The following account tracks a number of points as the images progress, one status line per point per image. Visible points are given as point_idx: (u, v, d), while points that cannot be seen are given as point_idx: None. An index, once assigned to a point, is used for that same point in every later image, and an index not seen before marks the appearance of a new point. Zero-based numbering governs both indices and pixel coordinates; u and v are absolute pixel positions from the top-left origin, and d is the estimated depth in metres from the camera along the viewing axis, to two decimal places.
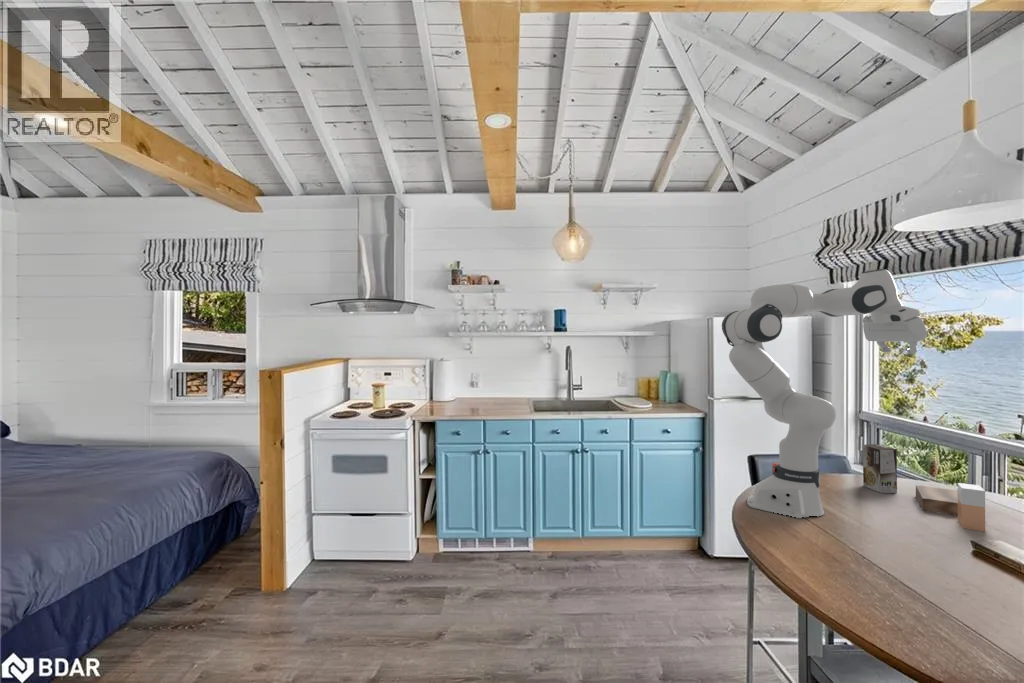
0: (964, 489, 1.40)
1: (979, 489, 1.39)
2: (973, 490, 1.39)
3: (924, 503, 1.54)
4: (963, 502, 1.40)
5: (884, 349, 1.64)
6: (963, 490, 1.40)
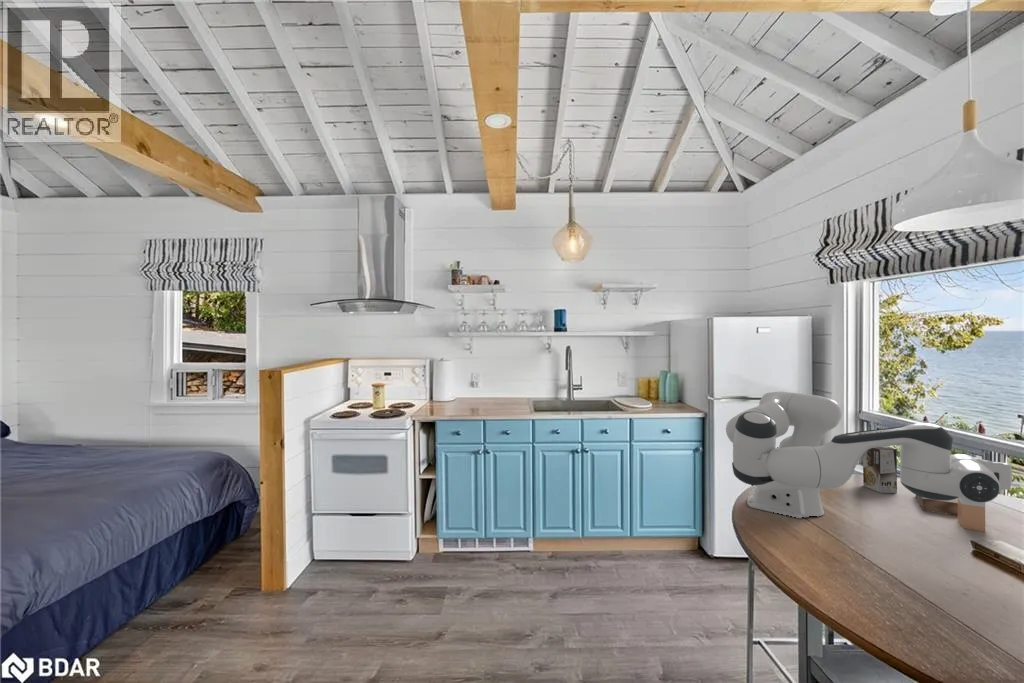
0: None
1: None
2: None
3: (924, 503, 1.54)
4: (963, 502, 1.40)
5: None
6: None
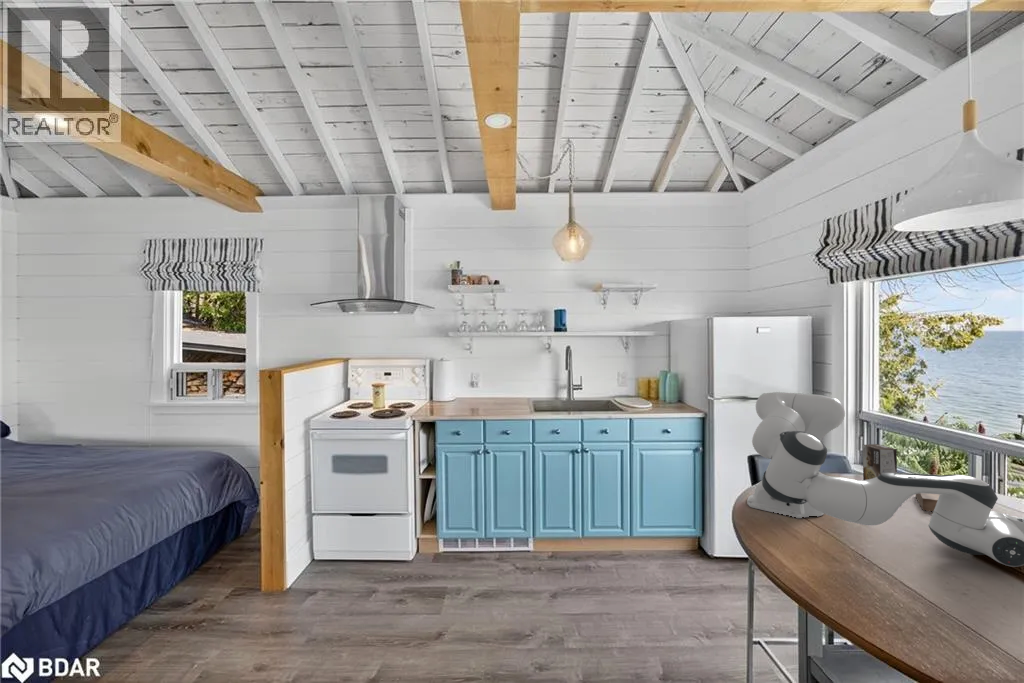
0: None
1: None
2: None
3: (924, 503, 1.54)
4: None
5: None
6: None
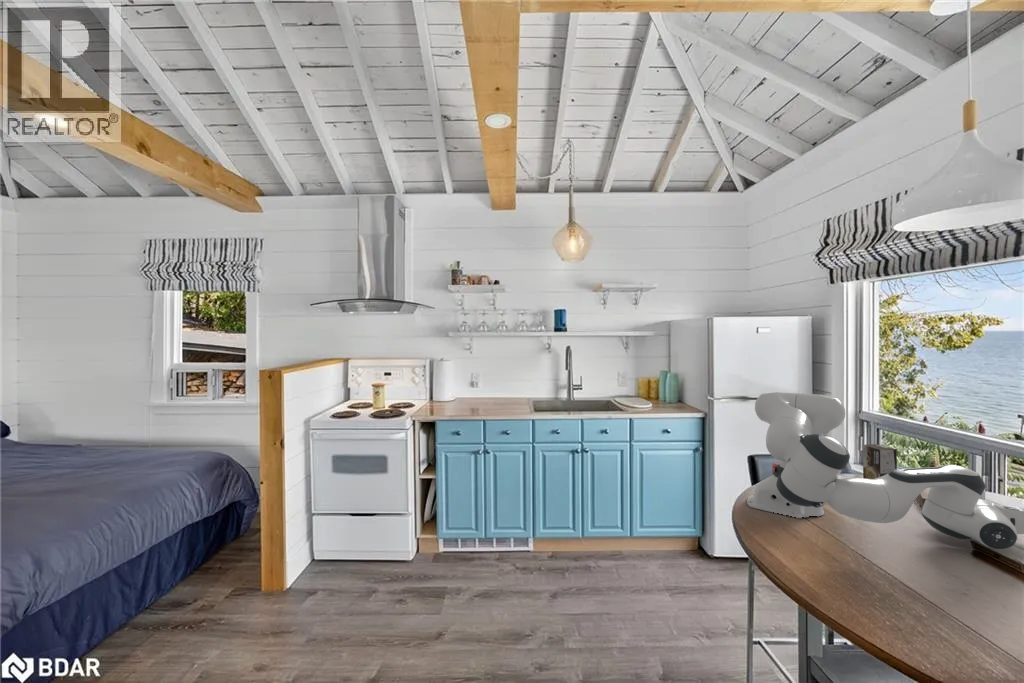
0: None
1: None
2: None
3: None
4: None
5: None
6: None
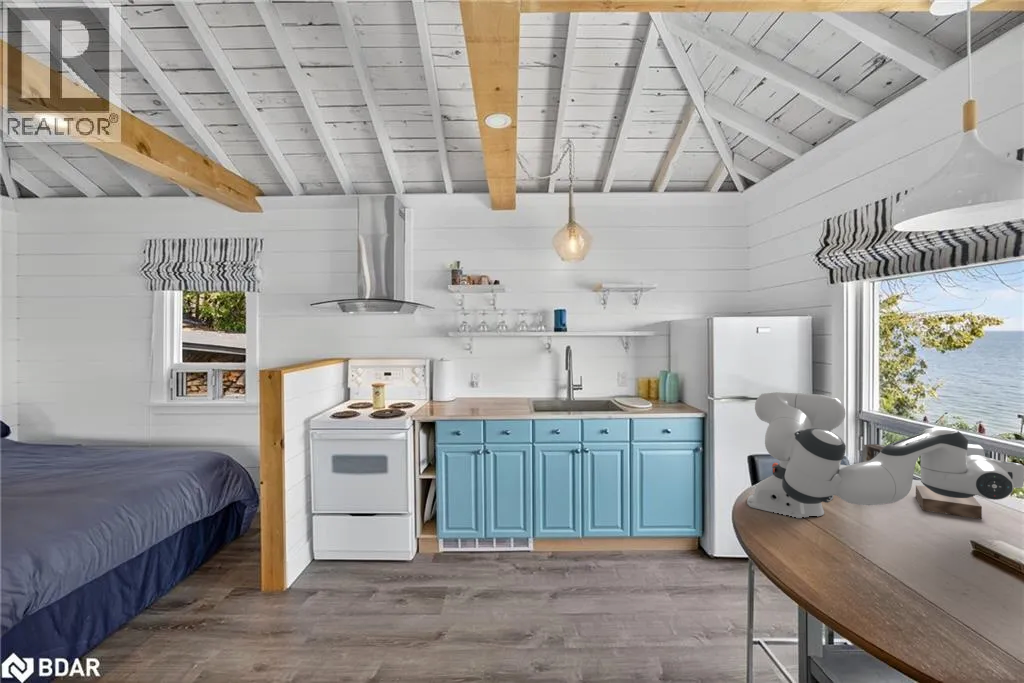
0: None
1: (978, 447, 1.41)
2: (972, 448, 1.41)
3: (924, 503, 1.54)
4: None
5: None
6: None
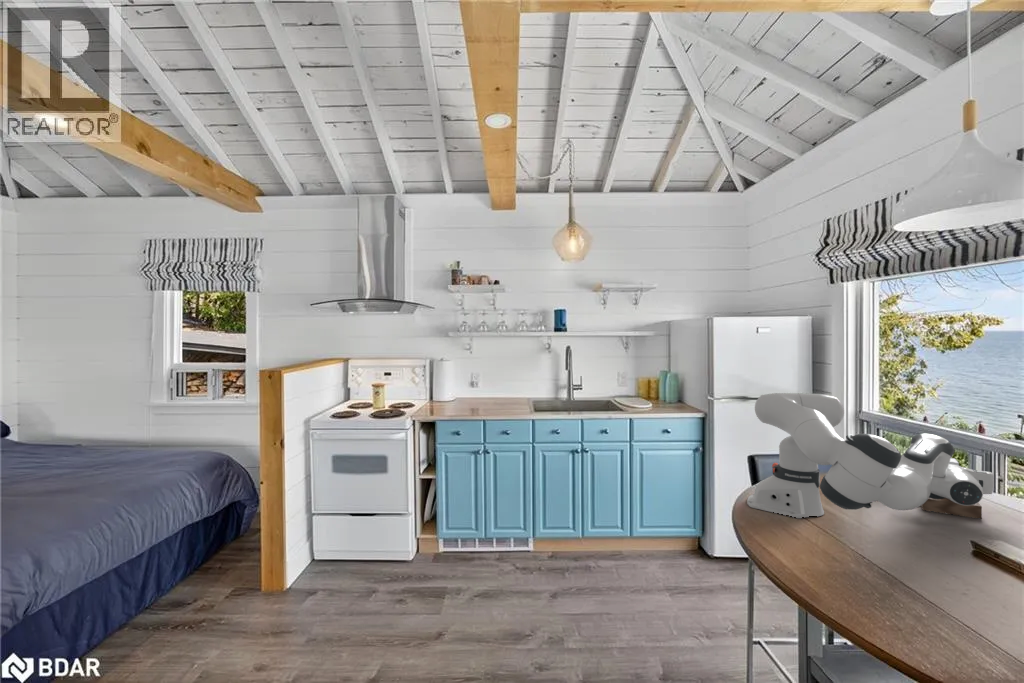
0: None
1: (953, 461, 1.54)
2: None
3: (924, 503, 1.54)
4: None
5: None
6: None
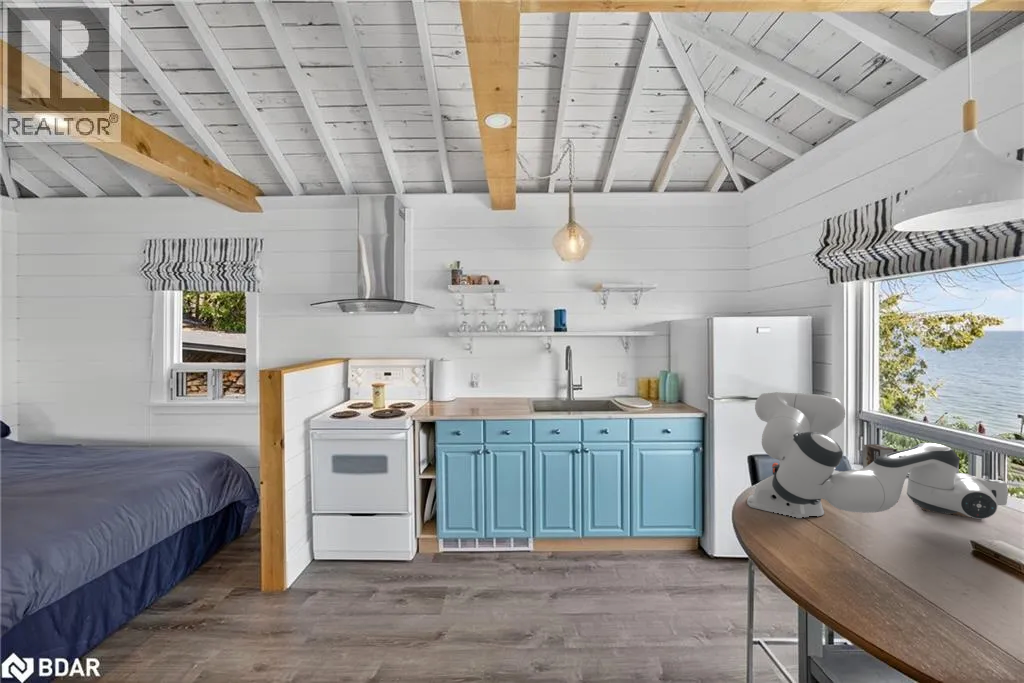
0: None
1: None
2: None
3: None
4: None
5: None
6: None
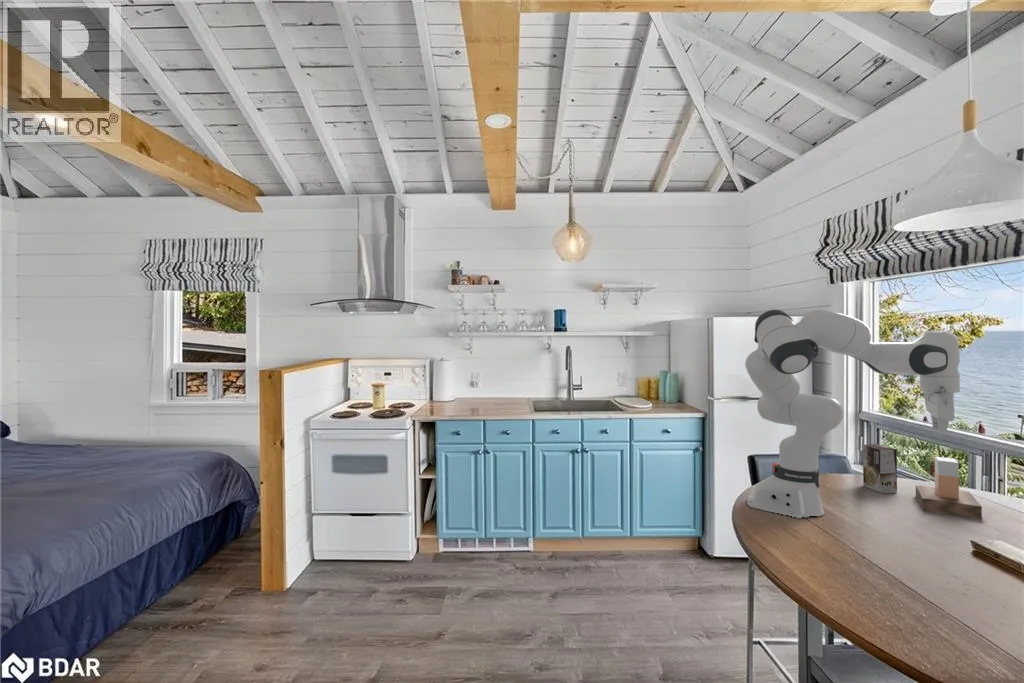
0: (940, 461, 1.56)
1: (953, 461, 1.54)
2: (948, 462, 1.54)
3: (924, 503, 1.54)
4: (939, 473, 1.56)
5: None
6: (939, 462, 1.56)
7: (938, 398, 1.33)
